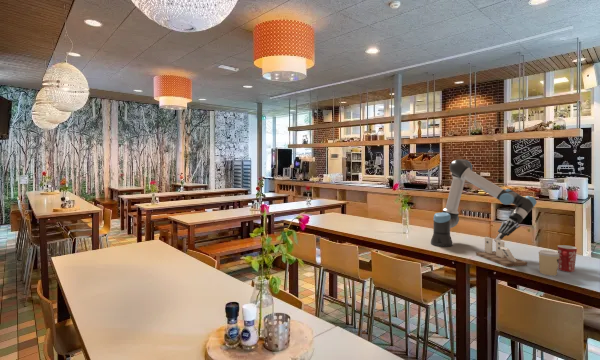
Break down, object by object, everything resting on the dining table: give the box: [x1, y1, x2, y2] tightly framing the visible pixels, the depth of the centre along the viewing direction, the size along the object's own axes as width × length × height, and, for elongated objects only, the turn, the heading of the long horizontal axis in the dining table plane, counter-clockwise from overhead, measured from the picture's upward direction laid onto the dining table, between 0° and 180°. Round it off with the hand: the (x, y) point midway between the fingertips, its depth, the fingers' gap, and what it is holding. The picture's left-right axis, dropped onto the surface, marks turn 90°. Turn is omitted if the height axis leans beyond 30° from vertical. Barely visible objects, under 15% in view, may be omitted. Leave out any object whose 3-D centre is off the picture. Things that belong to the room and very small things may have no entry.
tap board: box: [475, 250, 528, 268], centre depth 217 cm, size 26×14×2 cm, turn 11°
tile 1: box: [484, 236, 494, 254], centre depth 227 cm, size 5×2×10 cm, turn 11°
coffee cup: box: [538, 249, 559, 277], centre depth 191 cm, size 9×9×12 cm
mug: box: [556, 244, 578, 273], centre depth 195 cm, size 13×9×14 cm
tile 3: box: [500, 246, 517, 262], centre depth 206 cm, size 5×2×10 cm
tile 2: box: [495, 240, 505, 258], centre depth 217 cm, size 5×2×10 cm, turn 11°
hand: (495, 241), depth 227 cm, fingers closed
